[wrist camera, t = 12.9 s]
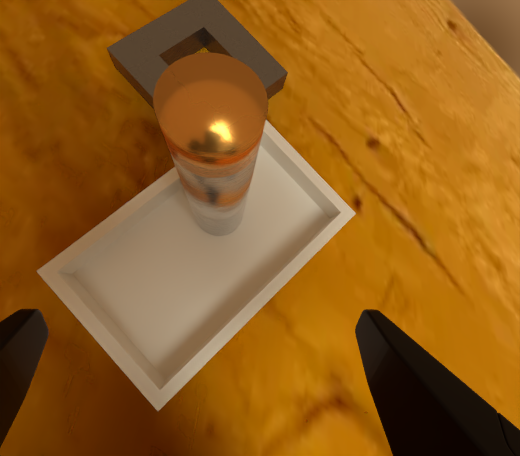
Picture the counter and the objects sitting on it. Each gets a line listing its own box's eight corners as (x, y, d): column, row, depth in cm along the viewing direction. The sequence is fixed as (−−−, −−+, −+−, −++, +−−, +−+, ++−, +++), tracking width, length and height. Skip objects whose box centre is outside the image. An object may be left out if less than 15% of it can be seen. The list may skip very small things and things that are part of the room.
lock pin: (253, 214, 22) (290, 109, 10) (216, 245, 21) (205, 175, 9) (221, 180, 22) (217, 34, 10) (184, 210, 22) (128, 91, 9)
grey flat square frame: (282, 88, 26) (287, 72, 24) (196, 154, 24) (194, 142, 22) (207, 11, 27) (206, -11, 25) (115, 67, 24) (106, 48, 22)
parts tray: (339, 222, 24) (355, 213, 21) (166, 393, 20) (157, 411, 17) (249, 128, 25) (253, 106, 22) (61, 274, 20) (36, 271, 17)
